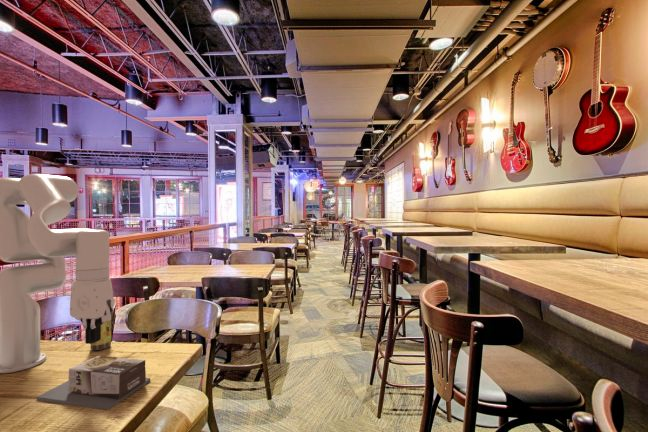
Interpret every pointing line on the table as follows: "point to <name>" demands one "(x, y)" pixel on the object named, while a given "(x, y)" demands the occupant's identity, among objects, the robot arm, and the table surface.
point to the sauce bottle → (103, 337)
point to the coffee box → (107, 376)
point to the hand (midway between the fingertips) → (93, 341)
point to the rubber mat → (81, 397)
